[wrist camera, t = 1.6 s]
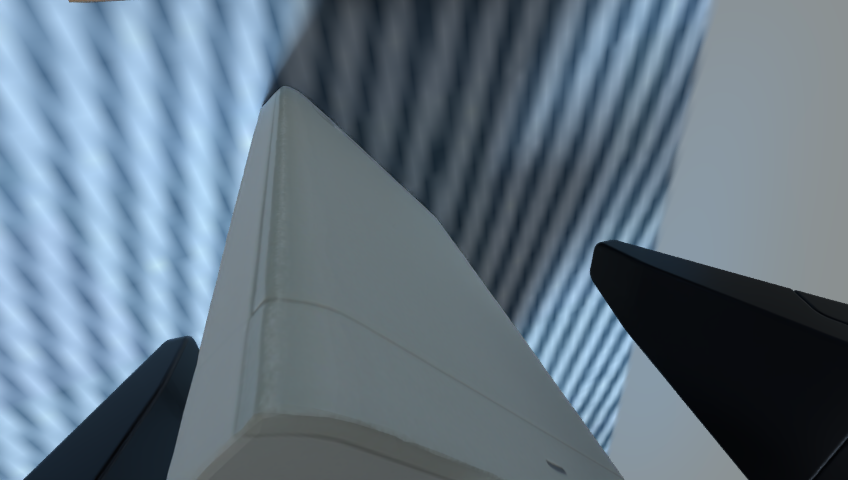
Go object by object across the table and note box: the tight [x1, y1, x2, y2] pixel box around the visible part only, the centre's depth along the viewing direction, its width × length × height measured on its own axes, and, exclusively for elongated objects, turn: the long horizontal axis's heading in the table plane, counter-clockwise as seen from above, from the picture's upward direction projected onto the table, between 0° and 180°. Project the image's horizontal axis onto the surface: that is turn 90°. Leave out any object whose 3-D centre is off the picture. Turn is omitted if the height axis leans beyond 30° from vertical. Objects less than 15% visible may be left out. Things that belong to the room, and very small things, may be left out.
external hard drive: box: [167, 86, 624, 480], centre depth 10 cm, size 2×8×12 cm, turn 42°
